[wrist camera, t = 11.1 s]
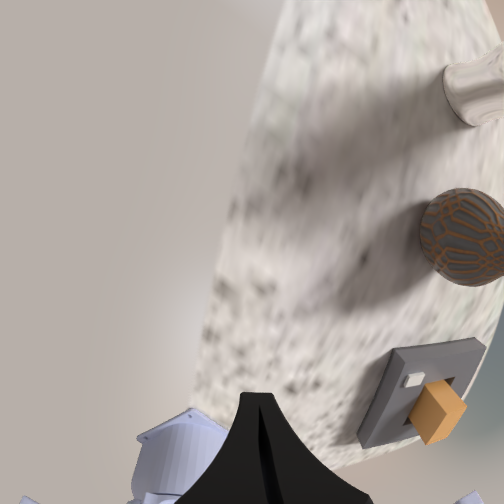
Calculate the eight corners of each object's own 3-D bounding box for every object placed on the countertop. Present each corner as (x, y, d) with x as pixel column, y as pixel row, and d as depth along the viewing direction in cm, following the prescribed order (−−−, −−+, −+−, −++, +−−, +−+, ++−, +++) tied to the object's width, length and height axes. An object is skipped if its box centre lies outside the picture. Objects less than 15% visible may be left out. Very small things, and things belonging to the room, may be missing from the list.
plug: (423, 404, 24) (446, 437, 18) (402, 408, 23) (425, 445, 18) (438, 373, 22) (467, 406, 17) (418, 377, 22) (446, 413, 16)
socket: (435, 415, 25) (444, 428, 22) (356, 434, 24) (363, 451, 22) (474, 337, 22) (488, 348, 19) (393, 348, 22) (407, 365, 19)
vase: (391, 237, 19) (470, 273, 11) (433, 167, 18) (517, 170, 9) (437, 282, 20) (505, 326, 12) (474, 219, 19) (546, 241, 10)
